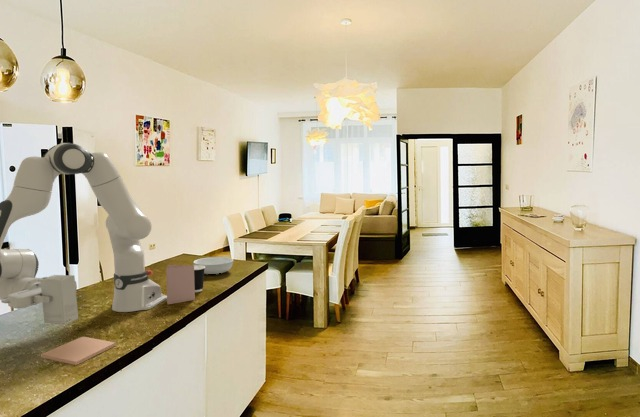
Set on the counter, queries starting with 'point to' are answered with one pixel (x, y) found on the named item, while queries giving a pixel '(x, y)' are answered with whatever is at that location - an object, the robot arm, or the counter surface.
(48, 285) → the skincare box
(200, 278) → the dixie cup
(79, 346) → the terracotta mat
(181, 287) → the greeting card
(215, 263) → the serving bowl
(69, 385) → the counter surface
